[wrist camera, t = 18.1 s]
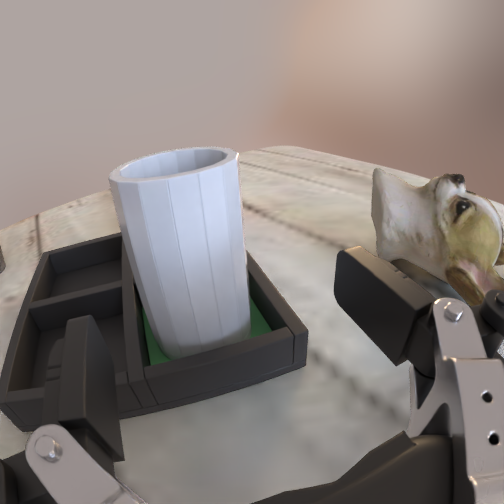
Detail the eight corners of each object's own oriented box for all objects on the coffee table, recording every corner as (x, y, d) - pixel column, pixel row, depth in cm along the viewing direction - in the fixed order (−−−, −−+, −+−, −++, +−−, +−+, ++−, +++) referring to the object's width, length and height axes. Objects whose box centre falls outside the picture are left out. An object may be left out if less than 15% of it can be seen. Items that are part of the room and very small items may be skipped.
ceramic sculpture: (396, 141, 26) (543, 193, 17) (384, 223, 30) (513, 277, 21) (345, 161, 19) (562, 243, 10) (333, 270, 24) (504, 352, 15)
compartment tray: (219, 237, 30) (216, 210, 29) (305, 366, 16) (309, 330, 15) (53, 277, 26) (43, 252, 24) (22, 432, 12) (-6, 403, 10)
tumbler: (234, 290, 21) (218, 141, 16) (267, 348, 17) (258, 162, 12) (151, 312, 20) (112, 162, 15) (164, 378, 15) (104, 193, 10)
